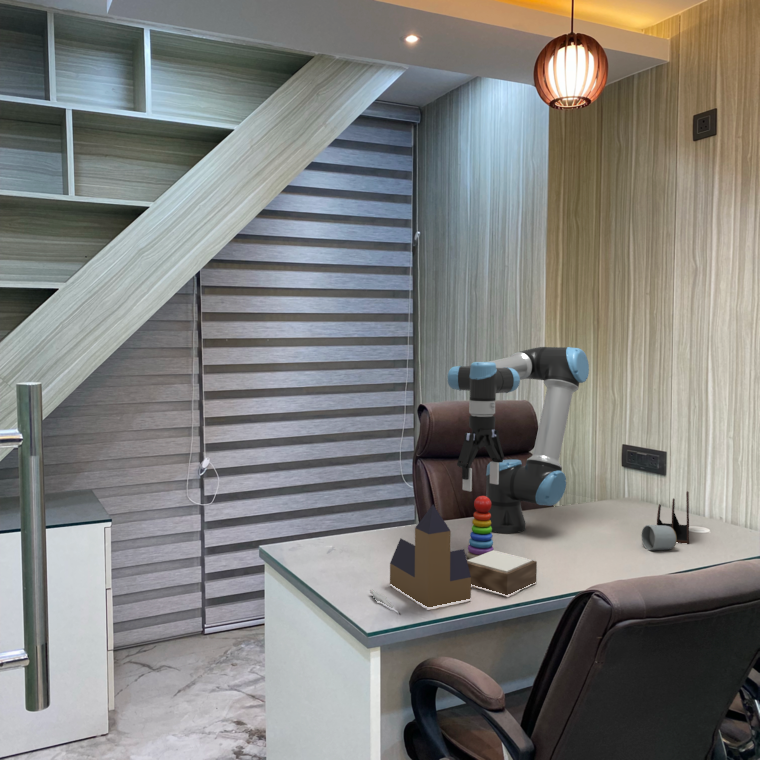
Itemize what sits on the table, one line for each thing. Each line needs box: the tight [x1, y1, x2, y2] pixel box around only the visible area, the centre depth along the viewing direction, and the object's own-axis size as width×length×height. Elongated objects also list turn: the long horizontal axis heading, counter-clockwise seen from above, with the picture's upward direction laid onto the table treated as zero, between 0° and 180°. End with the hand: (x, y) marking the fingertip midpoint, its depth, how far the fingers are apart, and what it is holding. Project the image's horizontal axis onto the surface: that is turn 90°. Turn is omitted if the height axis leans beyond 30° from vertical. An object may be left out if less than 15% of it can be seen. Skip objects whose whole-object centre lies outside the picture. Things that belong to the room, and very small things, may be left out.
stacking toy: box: [466, 495, 494, 560], centre depth 210 cm, size 8×8×19 cm
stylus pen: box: [369, 589, 395, 608], centre depth 175 cm, size 15×3×2 cm, turn 29°
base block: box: [467, 549, 538, 595], centre depth 189 cm, size 14×14×6 cm
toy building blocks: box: [389, 504, 472, 607], centre depth 181 cm, size 12×19×25 cm
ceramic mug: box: [640, 524, 677, 552], centre depth 222 cm, size 11×8×8 cm
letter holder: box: [656, 490, 690, 545], centre depth 236 cm, size 10×20×14 cm, turn 157°
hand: (480, 487), depth 209 cm, fingers open, 13 cm apart
